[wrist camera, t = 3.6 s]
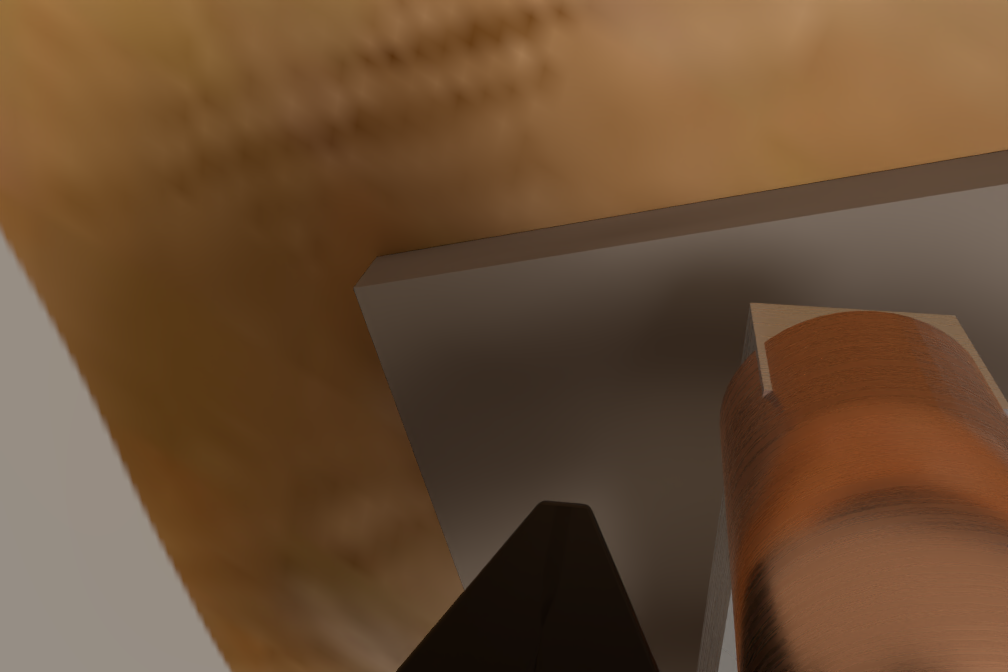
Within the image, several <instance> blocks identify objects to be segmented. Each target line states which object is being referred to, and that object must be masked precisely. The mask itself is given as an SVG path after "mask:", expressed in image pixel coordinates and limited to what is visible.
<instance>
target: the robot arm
mask: <svg viewBox="0 0 1008 672" xmlns="http://www.w3.org/2000/svg"><path fill="white" fill-rule="evenodd" d="M396 672H660V670H659V667H658V665H657V663H656V660H655V658H654V655H653V653H652V651H651V648H650V646H649V644H648V641H647V639H646V636H645V634H644V632H643V629H642V627H641V624H640V622H639V620H638V617H637V615H636V613H635V610H634V608H633V605H632V603H631V601H630V598H629V596H628V593H627V591H626V589H625V586H624V584H623V582H622V579H621V577H620V574H619V572H618V570H617V567H616V565H615V563H614V560H613V558H612V555H611V553H610V551H609V548H608V546H607V543H606V541H605V539H604V536H603V534H602V532H601V529H600V527H599V524H598V522H597V520H596V517H595V515H594V513H593V510H592V509H591V507H590V506H588V505H587V504H580V503H569V502H558V501H547V500H546V501H542V502H540V503H538V504H537V505H536V507H535V508H534V509H533V510H532V511H531V512H530V514H529V515H528V516H527V517H526V518H525V519H524V521H523V522H522V523H521V524H520V525H519V527H518V528H517V529H516V530H515V531H514V532H513V534H512V535H511V536H510V537H509V538H508V540H507V541H506V542H505V543H504V544H503V545H502V547H501V548H500V549H499V550H498V551H497V553H496V554H495V555H494V556H493V557H492V558H491V560H490V561H489V562H488V563H487V564H486V566H485V567H484V568H483V569H482V570H481V571H480V573H479V574H478V575H477V576H476V577H475V579H474V580H473V581H472V582H471V583H470V584H469V586H468V587H467V588H466V589H465V590H464V592H463V593H462V594H461V595H460V596H459V597H458V599H457V600H456V601H455V602H454V603H453V605H452V606H451V607H450V608H449V609H448V610H447V612H446V613H445V614H444V615H443V616H442V618H441V619H440V620H439V621H438V622H437V623H436V625H435V626H434V627H433V628H432V629H431V631H430V632H429V633H428V634H427V635H426V636H425V638H424V639H423V640H422V641H421V642H420V644H419V645H418V646H417V647H416V648H415V649H414V651H413V652H412V653H411V654H410V655H409V657H408V658H407V659H406V660H405V661H404V662H403V664H402V665H401V666H400V667H399V668H398V670H397V671H396Z"/></svg>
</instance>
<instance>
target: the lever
mask: <svg viewBox="0 0 1008 672" xmlns="http://www.w3.org/2000/svg"><path fill="white" fill-rule="evenodd" d="M719 425H720V439H721V452H722V466H723V480H724V486H723V493H722V500H721V506H720V513H719V520H718V527H717V534H716V541H715V548H714V555H713V562H712V569H711V576H710V583H709V590H708V597H707V604H706V610H705V617H704V624H703V631H702V638H701V645H700V652H699V659H698V666H697V672H1008V402H1007V401H1006V399H1005V397H1004V396H1003V394H1002V392H1001V391H1000V389H999V387H998V386H997V384H996V382H995V381H994V379H993V377H992V376H991V374H990V373H989V371H988V369H987V368H986V366H985V364H984V363H983V361H982V359H981V358H980V356H979V354H978V353H977V351H976V349H975V348H974V346H973V344H972V343H971V341H970V340H969V338H968V336H967V335H966V333H965V331H964V330H963V328H962V326H961V325H960V323H959V321H958V320H957V318H956V316H955V315H939V314H923V313H907V312H891V311H875V310H859V309H844V308H828V307H812V306H796V305H780V304H764V303H750V305H749V312H748V319H747V326H746V333H745V340H744V347H743V354H742V361H741V366H740V367H739V368H738V369H737V371H736V372H735V374H734V375H733V377H732V379H731V381H730V382H729V384H728V386H727V389H726V392H725V394H724V397H723V400H722V405H721V409H720V423H719Z"/></svg>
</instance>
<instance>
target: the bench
mask: <svg viewBox="0 0 1008 672" xmlns="http://www.w3.org/2000/svg"><path fill="white" fill-rule="evenodd" d="M353 289H354V292H355V294H356V297H357V300H358V303H359V305H360V308H361V311H362V313H363V316H364V319H365V322H366V324H367V327H368V330H369V333H370V335H371V338H372V341H373V343H374V346H375V349H376V352H377V354H378V357H379V360H380V362H381V365H382V368H383V371H384V373H385V376H386V379H387V381H388V384H389V387H390V390H391V392H392V395H393V398H394V401H395V403H396V406H397V409H398V411H399V414H400V417H401V420H402V422H403V425H404V428H405V430H406V433H407V436H408V439H409V441H410V444H411V447H412V449H413V452H414V455H415V458H416V460H417V463H418V466H419V468H420V471H421V474H422V477H423V479H424V482H425V485H426V488H427V490H428V493H429V496H430V498H431V501H432V504H433V507H434V509H435V512H436V515H437V517H438V520H439V523H440V526H441V528H442V531H443V534H444V536H445V539H446V542H447V545H448V547H449V550H450V553H451V556H452V558H453V561H454V564H455V566H456V569H457V572H458V575H459V577H460V580H461V583H462V585H463V588H464V590H465V589H466V588H467V587H468V586H469V584H470V583H471V582H472V581H473V580H474V579H475V577H476V576H477V575H478V574H479V573H480V571H481V570H482V569H483V568H484V567H485V566H486V564H487V563H488V562H489V561H490V560H491V558H492V557H493V556H494V555H495V554H496V553H497V551H498V550H499V549H500V548H501V547H502V545H503V544H504V543H505V542H506V541H507V540H508V538H509V537H510V536H511V535H512V534H513V532H514V531H515V530H516V529H517V528H518V527H519V525H520V524H521V523H522V522H523V521H524V519H525V518H526V517H527V516H528V515H529V514H530V512H531V511H532V510H533V509H534V508H535V507H536V505H537V504H538V503H540V502H542V501H546V500H547V501H558V502H569V503H580V504H587V505H588V506H590V507H591V509H592V510H593V513H594V515H595V517H596V520H597V522H598V524H599V527H600V529H601V532H602V534H603V536H604V539H605V541H606V543H607V546H608V548H609V551H610V553H611V555H612V558H613V560H614V563H615V565H616V567H617V570H618V572H619V574H620V577H621V579H622V582H623V584H624V586H625V589H626V591H627V593H628V596H629V598H630V601H631V603H632V605H633V608H634V610H635V613H636V615H637V617H638V620H639V622H640V624H641V627H642V629H643V632H644V634H645V636H646V639H647V641H648V644H649V646H650V648H651V651H652V653H653V655H654V658H655V660H656V663H657V665H658V667H659V670H660V672H697V666H698V659H699V652H700V645H701V638H702V631H703V624H704V617H705V610H706V604H707V597H708V590H709V583H710V576H711V569H712V562H713V555H714V548H715V541H716V534H717V527H718V520H719V513H720V506H721V500H722V493H723V486H724V480H723V466H722V452H721V439H720V425H719V423H720V409H721V405H722V400H723V397H724V394H725V392H726V389H727V386H728V384H729V382H730V381H731V379H732V377H733V375H734V374H735V372H736V371H737V369H738V368H739V367H740V366H741V361H742V354H743V347H744V340H745V333H746V326H747V319H748V312H749V305H750V303H764V304H780V305H796V306H812V307H828V308H844V309H859V310H875V311H891V312H907V313H923V314H939V315H955V316H956V318H957V320H958V321H959V323H960V325H961V326H962V328H963V330H964V331H965V333H966V335H967V336H968V338H969V340H970V341H971V343H972V344H973V346H974V348H975V349H976V351H977V353H978V354H979V356H980V358H981V359H982V361H983V363H984V364H985V366H986V368H987V369H988V371H989V373H990V374H991V376H992V377H993V379H994V381H995V382H996V384H997V386H998V387H999V389H1000V391H1001V392H1002V394H1003V396H1004V397H1005V399H1006V401H1007V402H1008V150H1006V151H1000V152H994V153H988V154H982V155H976V156H971V157H965V158H959V159H953V160H947V161H941V162H935V163H929V164H923V165H917V166H911V167H906V168H900V169H894V170H888V171H882V172H876V173H870V174H864V175H858V176H852V177H846V178H841V179H835V180H829V181H823V182H817V183H811V184H805V185H799V186H793V187H787V188H782V189H776V190H770V191H764V192H758V193H752V194H746V195H740V196H734V197H728V198H722V199H717V200H711V201H705V202H699V203H693V204H687V205H681V206H675V207H669V208H663V209H657V210H652V211H646V212H640V213H634V214H628V215H622V216H616V217H610V218H604V219H598V220H592V221H587V222H581V223H575V224H569V225H563V226H557V227H551V228H545V229H539V230H533V231H527V232H522V233H516V234H510V235H504V236H498V237H492V238H486V239H480V240H474V241H468V242H462V243H457V244H451V245H445V246H439V247H433V248H427V249H421V250H415V251H409V252H403V253H397V254H392V255H386V256H380V257H376V258H375V260H374V261H373V262H372V264H371V265H370V266H369V268H368V269H367V270H366V272H365V273H364V274H363V276H362V277H361V278H360V280H359V281H358V282H357V284H356V285H355V286H354V288H353Z"/></svg>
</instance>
